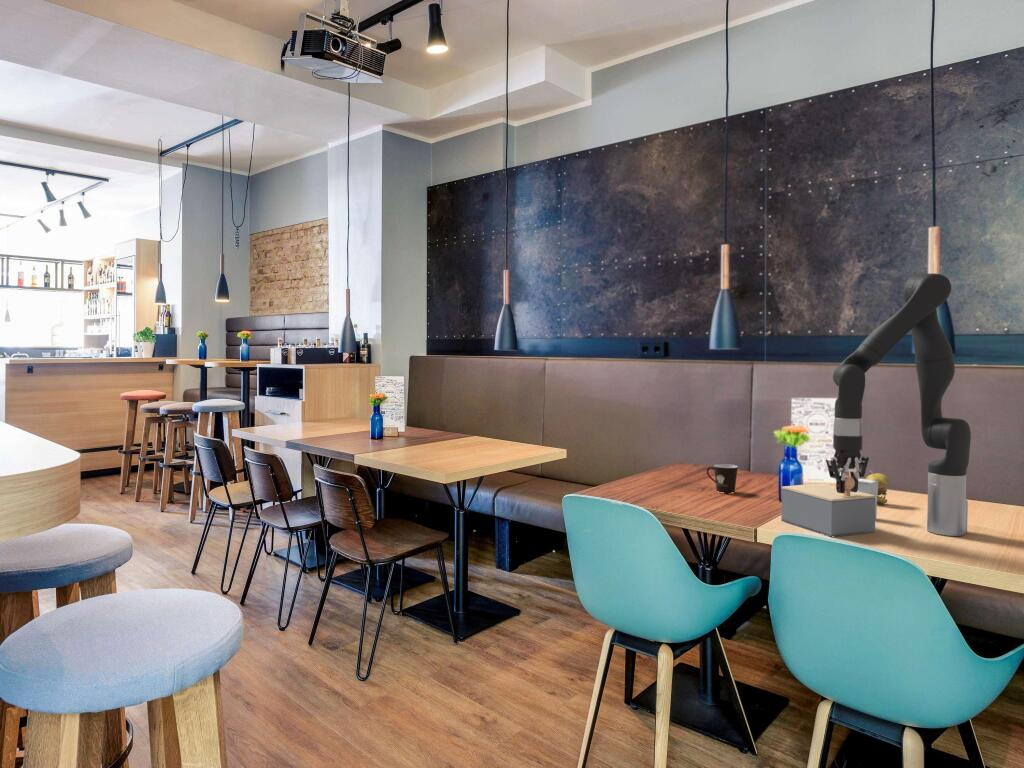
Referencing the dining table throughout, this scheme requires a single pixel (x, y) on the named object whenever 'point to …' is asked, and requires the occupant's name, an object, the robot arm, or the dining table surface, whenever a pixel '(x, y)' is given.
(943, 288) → the robot arm
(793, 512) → the carton
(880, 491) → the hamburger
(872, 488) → the skincare box
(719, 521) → the dining table surface
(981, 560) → the dining table surface
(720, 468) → the coffee mug
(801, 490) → the carton flap
